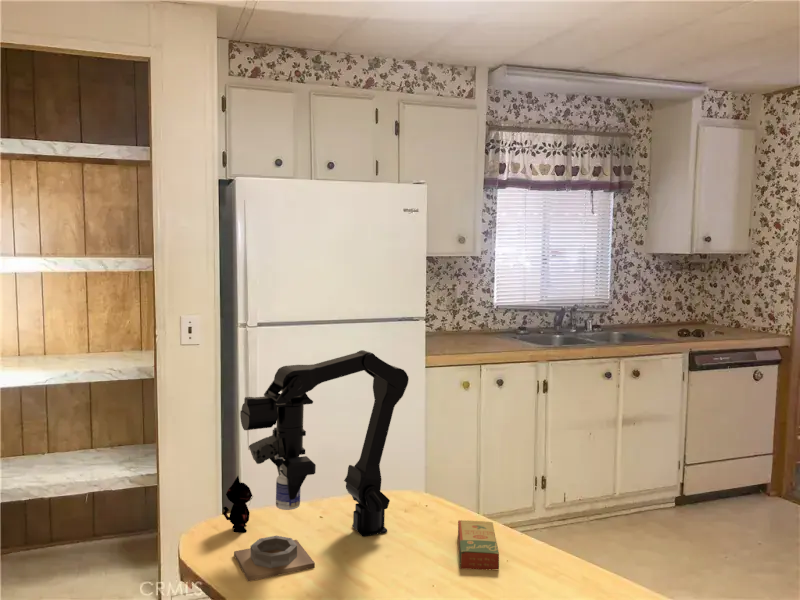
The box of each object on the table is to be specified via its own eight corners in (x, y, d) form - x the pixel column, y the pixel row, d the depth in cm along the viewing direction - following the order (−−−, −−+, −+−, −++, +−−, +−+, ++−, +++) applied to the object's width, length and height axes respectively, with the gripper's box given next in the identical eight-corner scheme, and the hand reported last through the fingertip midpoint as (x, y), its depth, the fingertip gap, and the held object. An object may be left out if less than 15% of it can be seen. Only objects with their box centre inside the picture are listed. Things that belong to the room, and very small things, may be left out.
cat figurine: (253, 534, 156) (253, 483, 155) (222, 536, 154) (222, 485, 153) (252, 521, 163) (253, 473, 162) (223, 523, 161) (223, 474, 160)
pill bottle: (294, 511, 145) (295, 471, 144) (271, 509, 146) (272, 469, 145) (303, 502, 150) (304, 463, 149) (281, 500, 151) (282, 461, 151)
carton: (492, 538, 157) (493, 520, 157) (499, 572, 141) (500, 552, 141) (457, 536, 158) (457, 519, 157) (459, 570, 142) (460, 550, 141)
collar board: (296, 543, 152) (296, 528, 151) (314, 567, 141) (314, 551, 141) (234, 555, 145) (234, 540, 145) (248, 581, 135) (248, 564, 134)
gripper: (243, 417, 152) (242, 484, 153) (264, 440, 135) (262, 516, 136) (291, 413, 156) (289, 479, 158) (317, 435, 140) (315, 508, 141)
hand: (288, 494), depth 148 cm, fingers closed on pill bottle, 5 cm apart
